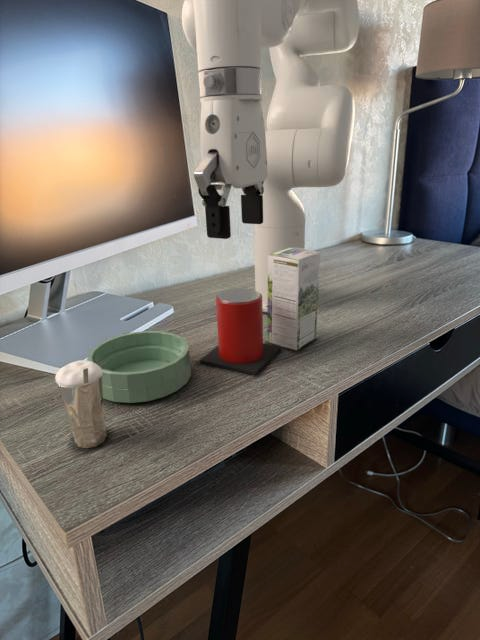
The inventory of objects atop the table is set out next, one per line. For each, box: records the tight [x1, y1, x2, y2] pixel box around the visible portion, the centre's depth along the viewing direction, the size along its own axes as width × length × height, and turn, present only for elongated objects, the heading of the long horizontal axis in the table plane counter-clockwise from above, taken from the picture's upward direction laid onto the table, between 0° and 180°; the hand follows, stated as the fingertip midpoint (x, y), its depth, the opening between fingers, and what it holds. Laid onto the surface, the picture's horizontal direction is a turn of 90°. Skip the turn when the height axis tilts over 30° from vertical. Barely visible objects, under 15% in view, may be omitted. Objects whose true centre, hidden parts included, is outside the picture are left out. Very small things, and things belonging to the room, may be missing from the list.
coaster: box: [199, 342, 282, 376], centre depth 67 cm, size 9×9×1 cm
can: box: [215, 288, 264, 364], centre depth 65 cm, size 7×7×9 cm
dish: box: [86, 330, 192, 404], centre depth 60 cm, size 13×13×4 cm
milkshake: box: [54, 359, 108, 449], centre depth 47 cm, size 4×5×10 cm
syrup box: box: [266, 248, 321, 351], centre depth 68 cm, size 6×6×14 cm
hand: (236, 230), depth 60 cm, fingers open, 9 cm apart
